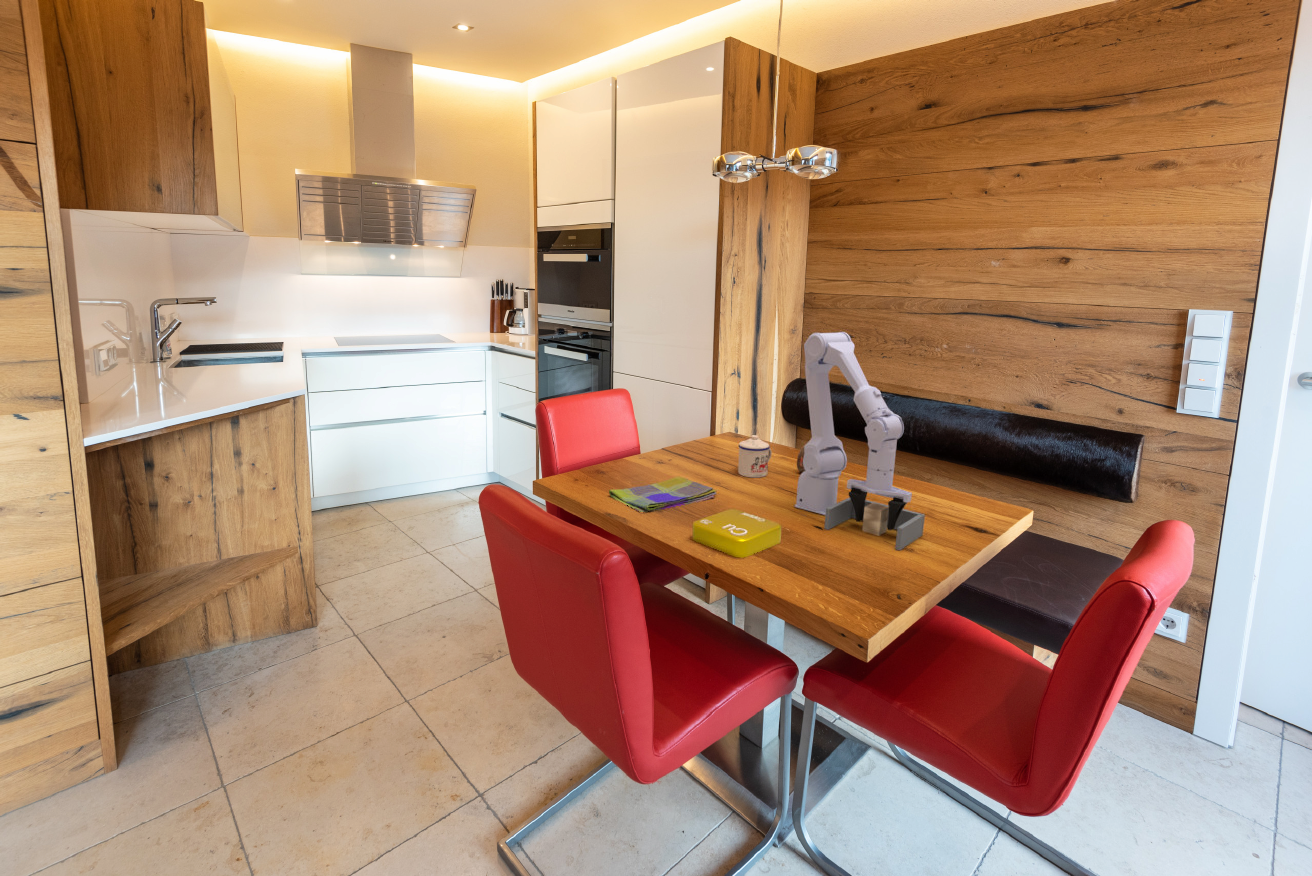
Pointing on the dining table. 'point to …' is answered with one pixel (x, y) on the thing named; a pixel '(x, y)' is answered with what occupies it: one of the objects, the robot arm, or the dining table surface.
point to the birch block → (875, 519)
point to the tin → (800, 460)
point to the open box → (906, 524)
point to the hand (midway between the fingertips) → (875, 524)
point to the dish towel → (663, 494)
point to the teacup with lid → (753, 457)
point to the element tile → (737, 533)
